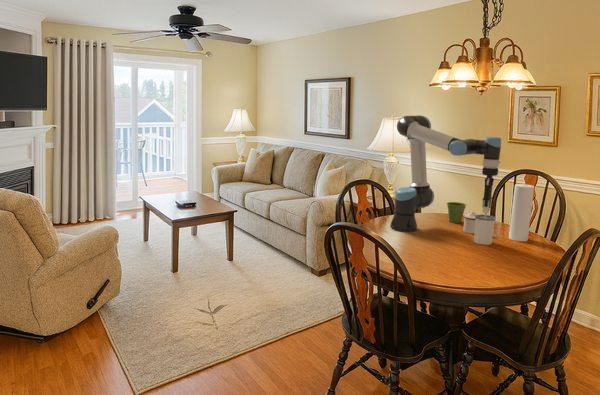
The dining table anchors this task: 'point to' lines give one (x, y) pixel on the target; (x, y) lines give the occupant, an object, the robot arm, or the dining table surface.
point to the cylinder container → (521, 212)
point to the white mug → (485, 229)
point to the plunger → (489, 206)
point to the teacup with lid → (469, 223)
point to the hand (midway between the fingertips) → (486, 211)
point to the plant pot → (455, 211)
